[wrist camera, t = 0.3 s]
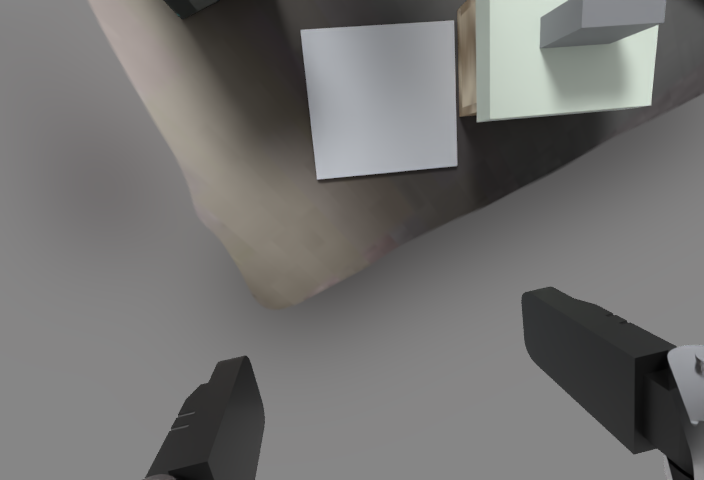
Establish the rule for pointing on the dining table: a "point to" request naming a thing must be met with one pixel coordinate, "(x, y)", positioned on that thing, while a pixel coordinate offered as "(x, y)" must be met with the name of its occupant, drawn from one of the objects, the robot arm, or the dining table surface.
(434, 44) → the mat
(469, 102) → the box
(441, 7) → the dining table surface
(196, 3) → the tampon box
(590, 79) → the lid
